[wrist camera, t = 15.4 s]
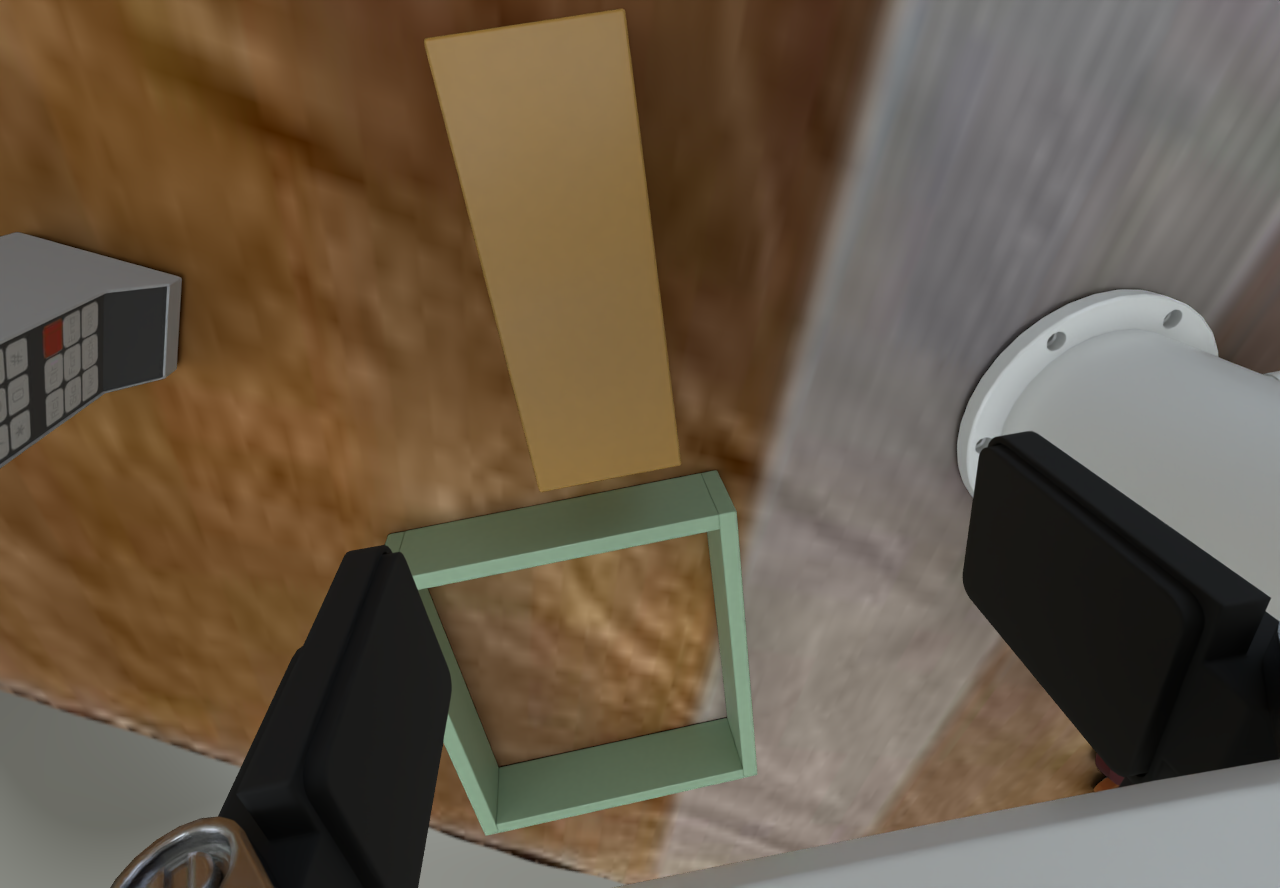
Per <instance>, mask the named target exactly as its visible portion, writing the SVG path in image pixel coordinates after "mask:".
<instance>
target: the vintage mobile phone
mask: <svg viewBox="0 0 1280 888" xmlns="http://www.w3.org/2000/svg"><path fill="white" fill-rule="evenodd" d="M181 284H182V279H181V277H179V276H175V275H172V274H168V273H164V272H161V271H157V270H153V269H150V268H146V267H143V266H139V265H135V264H132V263H128V262H125V261H121V260H117V259H114V258H110V257H106V256H103V255H99V254H96V253H92V252H88V251H85V250H81V249H78V248H74V247H70V246H67V245H63V244H59V243H56V242H52V241H49V240H45V239H41V238H38V237H34V236H31V235H27V234H23V233H20V232H15V233H12V234H8V235H5V236H1V237H0V468H1V467H3V466H4V465H5V464H7V463H8V462H10V461H11V460H12V459H14V458H15V457H17V456H18V455H19V454H21V453H22V452H24V451H25V450H26V449H28V448H29V447H31V446H32V445H33V444H35V443H36V442H38V441H39V440H40V439H42V438H43V437H45V436H46V435H47V434H49V433H50V432H52V431H53V430H54V429H56V428H57V427H59V426H60V425H61V424H63V423H64V422H66V421H67V420H68V419H70V418H71V417H73V416H74V415H75V414H77V413H78V412H80V411H81V410H82V409H84V408H85V407H86V406H88V405H89V404H91V403H92V402H93V401H95V400H96V399H98V398H99V397H100V396H102V395H103V394H105V393H108V392H112V391H116V390H121V389H125V388H129V387H133V386H137V385H141V384H145V383H149V382H153V381H157V380H161V379H164V378H166V377H167V376H168V375H170V374H171V373H172V372H174V371H175V370H176V369H177V353H178V336H179V319H180V301H181Z"/></svg>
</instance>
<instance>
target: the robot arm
mask: <svg viewBox="0 0 1280 888" xmlns="http://www.w3.org/2000/svg"><path fill="white" fill-rule="evenodd" d="M957 458H958V467H959V471H960V474H961V478H962V481H963V483H964V485H965V486H966V488H967V490H968V491H969V493H970V495H971V496H972V497H973V503H972V510H971V518H970V525H969V532H968V540H967V547H966V554H965V562H964V569H963V584H964V587H965V590H966V592H967V595H968V596H969V598H970V599H971V600H972V602H973V603H974V604H975V605H976V606H977V608H978V609H979V610H980V611H981V612H982V614H983V615H984V616H985V617H986V619H987V620H988V621H989V622H990V623H991V625H992V626H993V627H994V628H995V630H996V631H997V632H998V633H999V634H1000V636H1001V637H1002V638H1003V639H1004V640H1005V642H1006V643H1007V644H1008V645H1009V647H1010V648H1011V649H1012V650H1013V651H1014V653H1015V654H1016V655H1017V656H1018V658H1019V659H1020V660H1021V661H1022V662H1023V664H1024V665H1025V666H1026V667H1027V668H1028V670H1029V671H1030V672H1031V673H1032V675H1033V676H1034V677H1035V678H1036V679H1037V681H1038V682H1039V683H1040V684H1041V686H1042V687H1043V688H1044V689H1045V690H1046V692H1047V693H1048V694H1049V695H1050V696H1051V698H1052V699H1053V700H1054V701H1055V703H1056V704H1057V705H1058V706H1059V707H1060V709H1061V710H1062V711H1063V712H1064V714H1065V715H1066V716H1067V717H1068V718H1069V720H1070V721H1071V722H1072V723H1073V724H1074V726H1075V727H1076V728H1077V729H1078V731H1079V732H1080V733H1081V734H1082V735H1083V737H1084V738H1085V739H1086V740H1087V742H1088V743H1089V744H1090V745H1091V746H1092V748H1093V749H1094V750H1095V751H1096V752H1097V754H1098V755H1099V756H1100V757H1101V759H1102V760H1103V761H1104V762H1105V763H1106V765H1107V766H1108V767H1109V768H1110V769H1111V770H1112V771H1113V772H1114V773H1116V774H1117V775H1119V776H1122V777H1127V778H1128V779H1129V780H1130V781H1131V782H1132V784H1133V785H1130V786H1125V787H1120V788H1114V789H1109V790H1104V791H1099V792H1094V793H1088V794H1083V795H1078V796H1073V797H1068V798H1062V799H1057V800H1052V801H1047V802H1042V803H1036V804H1031V805H1026V806H1021V807H1016V808H1010V809H1005V810H1000V811H995V812H990V813H984V814H979V815H974V816H969V817H964V818H959V819H953V820H948V821H943V822H938V823H933V824H928V825H923V826H918V827H913V828H908V829H903V830H898V831H893V832H888V833H882V834H877V835H872V836H867V837H862V838H857V839H852V840H847V841H842V842H837V843H832V844H827V845H822V846H817V847H812V848H807V849H802V850H797V851H792V852H787V853H782V854H777V855H772V856H767V857H762V858H757V859H752V860H747V861H742V862H736V863H731V864H726V865H722V866H717V867H712V868H707V869H702V870H697V871H692V872H687V873H682V874H677V875H673V876H668V877H663V878H658V879H653V880H648V881H643V882H638V883H633V884H628V885H624V886H619V887H614V888H1280V371H1276V372H1271V373H1266V374H1263V375H1262V374H1260V373H1257V372H1255V371H1252V370H1250V369H1247V368H1244V367H1242V366H1239V365H1237V364H1234V363H1232V362H1229V361H1227V360H1224V359H1222V358H1219V357H1218V349H1217V345H1216V342H1215V338H1214V335H1213V332H1212V330H1211V329H1210V327H1209V326H1208V324H1207V323H1206V321H1205V320H1204V318H1203V317H1202V316H1201V315H1200V314H1199V313H1197V312H1196V311H1195V310H1194V309H1193V308H1191V307H1190V306H1189V305H1188V304H1185V303H1183V302H1180V301H1178V300H1175V299H1173V298H1170V297H1168V296H1165V295H1161V294H1158V293H1154V292H1150V291H1146V290H1127V289H1119V290H1113V291H1108V292H1103V293H1097V294H1093V295H1090V296H1088V297H1085V298H1082V299H1080V300H1077V301H1074V302H1071V303H1069V304H1067V305H1065V306H1063V307H1061V308H1060V309H1058V310H1056V311H1054V312H1052V313H1050V314H1049V315H1047V316H1045V317H1043V318H1042V319H1040V320H1039V321H1038V322H1037V323H1035V324H1034V325H1033V326H1031V327H1030V328H1029V329H1027V330H1026V331H1025V332H1023V333H1022V334H1021V335H1019V336H1018V337H1017V338H1016V339H1015V340H1014V341H1013V342H1012V343H1011V344H1010V345H1009V346H1008V347H1007V348H1006V349H1005V350H1004V351H1003V352H1002V353H1001V354H1000V355H999V356H998V357H997V359H996V360H995V361H994V363H993V364H992V365H991V367H990V368H989V369H988V370H987V372H986V373H985V374H984V376H983V377H982V378H981V380H980V382H979V384H978V385H977V387H976V389H975V391H974V393H973V394H972V396H971V398H970V400H969V402H968V405H967V407H966V410H965V413H964V416H963V418H962V421H961V424H960V430H959V436H958V442H957ZM451 693H452V682H451V675H450V671H449V668H448V666H447V663H446V660H445V658H444V655H443V653H442V650H441V648H440V645H439V643H438V640H437V638H436V635H435V632H434V630H433V627H432V625H431V622H430V620H429V617H428V615H427V612H426V609H425V607H424V604H423V602H422V599H421V597H420V594H419V592H418V589H417V587H416V584H415V581H414V579H413V576H412V574H411V571H410V569H409V566H408V564H407V561H406V559H405V557H404V555H403V554H402V553H401V552H395V553H392V551H391V549H390V548H389V547H388V546H386V545H381V546H376V547H370V548H364V549H359V550H353V551H349V552H347V553H346V555H345V556H344V558H343V560H342V562H341V564H340V567H339V569H338V571H337V573H336V575H335V578H334V580H333V582H332V584H331V586H330V589H329V591H328V593H327V595H326V597H325V599H324V602H323V604H322V606H321V608H320V610H319V613H318V615H317V617H316V619H315V621H314V624H313V626H312V628H311V630H310V632H309V634H308V637H307V639H306V641H305V643H304V645H303V646H302V647H301V648H299V649H298V650H297V651H296V653H295V654H294V656H293V658H292V659H291V661H290V664H289V666H288V668H287V670H286V672H285V674H284V676H283V679H282V681H281V683H280V685H279V687H278V689H277V691H276V694H275V696H274V698H273V700H272V702H271V704H270V706H269V709H268V711H267V713H266V715H265V717H264V719H263V721H262V724H261V726H260V728H259V730H258V732H257V734H256V736H255V739H254V741H253V743H252V745H251V747H250V749H249V751H248V754H247V756H246V758H245V760H244V762H243V764H242V766H241V768H240V771H239V773H238V775H237V777H236V779H235V782H234V783H233V786H232V788H231V790H230V792H229V794H228V797H227V799H226V801H225V803H224V805H223V807H222V809H221V811H220V814H219V816H218V817H210V818H201V819H198V820H195V821H193V822H190V823H187V824H185V825H182V826H179V827H177V828H176V829H174V830H172V831H171V832H169V833H167V834H166V835H164V836H162V837H161V838H159V839H157V840H156V841H155V842H153V843H152V844H151V845H150V846H149V847H147V848H146V849H145V850H144V851H143V852H141V853H140V854H139V855H138V856H136V857H135V858H134V860H132V862H131V863H130V864H129V865H128V866H127V867H126V868H125V869H124V870H123V872H122V873H121V874H120V875H119V876H118V877H117V878H116V880H115V881H114V883H113V884H112V886H111V887H110V888H418V885H419V878H420V873H421V867H422V861H423V856H424V850H425V844H426V838H427V833H428V827H429V821H430V815H431V810H432V804H433V798H434V792H435V787H436V781H437V775H438V769H439V763H440V758H441V752H442V746H443V740H444V735H445V729H446V723H447V717H448V712H449V706H450V700H451Z"/></svg>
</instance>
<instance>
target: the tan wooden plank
mask: <svg viewBox="0 0 1280 888" xmlns="http://www.w3.org/2000/svg"><path fill="white" fill-rule="evenodd" d="M424 45H425V49H426V53H427V57H428V61H429V65H430V69H431V73H432V76H433V80H434V84H435V88H436V92H437V96H438V100H439V104H440V108H441V111H442V115H443V119H444V123H445V127H446V131H447V135H448V139H449V142H450V146H451V150H452V154H453V158H454V162H455V166H456V170H457V174H458V177H459V181H460V185H461V189H462V193H463V197H464V201H465V205H466V209H467V212H468V216H469V220H470V224H471V228H472V232H473V236H474V240H475V243H476V247H477V251H478V255H479V259H480V263H481V267H482V271H483V275H484V278H485V282H486V286H487V290H488V294H489V298H490V302H491V306H492V310H493V313H494V317H495V321H496V325H497V329H498V333H499V337H500V341H501V345H502V348H503V352H504V356H505V360H506V364H507V368H508V372H509V376H510V379H511V383H512V387H513V391H514V395H515V399H516V403H517V407H518V411H519V414H520V418H521V422H522V426H523V430H524V434H525V438H526V442H527V446H528V449H529V453H530V457H531V461H532V465H533V469H534V473H535V477H536V480H537V484H538V488H539V491H540V492H545V491H550V490H555V489H560V488H566V487H571V486H576V485H581V484H586V483H591V482H597V481H602V480H607V479H612V478H617V477H622V476H628V475H633V474H638V473H643V472H648V471H653V470H658V469H664V468H669V467H674V466H679V465H681V457H680V449H679V441H678V433H677V425H676V417H675V409H674V401H673V393H672V385H671V377H670V368H669V360H668V352H667V344H666V336H665V328H664V320H663V312H662V304H661V296H660V288H659V280H658V271H657V263H656V255H655V247H654V239H653V231H652V223H651V215H650V207H649V199H648V191H647V183H646V175H645V166H644V158H643V150H642V142H641V134H640V126H639V118H638V110H637V102H636V94H635V86H634V78H633V69H632V61H631V53H630V45H629V37H628V29H627V21H626V13H625V10H624V9H615V10H609V11H602V12H595V13H589V14H582V15H576V16H569V17H563V18H556V19H549V20H543V21H536V22H530V23H523V24H517V25H510V26H504V27H497V28H490V29H484V30H477V31H471V32H464V33H458V34H451V35H444V36H438V37H431V38H426V39H424Z"/></svg>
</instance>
